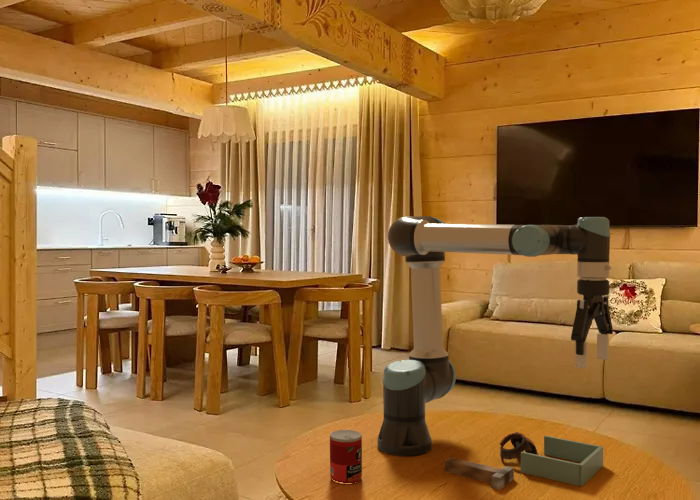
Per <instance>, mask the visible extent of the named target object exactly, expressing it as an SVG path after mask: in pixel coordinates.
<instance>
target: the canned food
mask: <svg viewBox="0 0 700 500" xmlns="http://www.w3.org/2000/svg"><path fill="white" fill-rule="evenodd" d="M362 439H363V435H362V433H361V432H359V431H358V430H357V431H356V430H353V429H340V430H334V431H332V432H330V434H329V476H330V478H332V479H333V480H335V481H338V482H343V483H355V482H357V483H359V482H360V481H361V480H362V476H363V440H362ZM332 479H331V480H332ZM358 481H359V482H358ZM355 484H356V483H355Z"/></svg>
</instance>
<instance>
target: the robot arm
mask: <svg viewBox="0 0 700 500" xmlns="http://www.w3.org/2000/svg"><path fill="white" fill-rule="evenodd" d="M387 240H388V241H387V242H388V244H389V247H390V248H391V249H392V251H393V252H394V253H396V254H397V255H399V256H402V257H405V258H404V259H405V264H406V265H408V266H409V268H410V278H411V280H410V281H411V307H412V310H411V311H412V331H413V334H412V335H413V349H412V350H411V351H410V352H409V354H408V359H402V360H397V361H391V362H390V363H389V364H387V365H386V366H385V368H384V369H383V376H382V384H383V385H382V386H383V387H382V389H383V391H382V392H383V395H382V397H383V405H382V406H383V420H382V423H381V427H380V430H379V432H378V435H377V436H378V437H377V442H376V443H377V449H378V450H379V451H381V452H382V453H385V454H389V455H393V456H403V457H404V456H406V457H410V456H418V455H423V454H426V453H428V452H430V451H431V450H432V445H433V444H432V437H431V434H430V430H429V428H428V424H427V421H426V404H427V403H430V402H431V401H434V400H437V399H441V398H443V397H445V396H446V395H448V394H449V393H450V392H451V391H452V390H453V388H454V387H455V383H456V380H457V373H456V369H455V366H454V365H453V364H452V363H451V361H450V360H449V352H447V351H446V350H445V348H444V343H443V342H444V340H443V338H444V337H443V315H442V313H443V312H442V310H443V309H442V290H441V289H442V288H441V287H442V286H441V283H442V282H441V267H442V266H443V264H444V263H445V262H446V257H445V256H446V255H445V254H446V253H456V254H457V253H458V254H459V253H460V254H461V253H462V254H463V253H464V254H465V253H466V254H487V255H507V256H508V255H510V256H513V255H514V256H522V257H523V256H524V257H528V258H529V257H532V258H533V257H539V256H549V255H577V264H576V267H577V268H576V277H577V278H579V279H577V281H576V283H577V285H576V291H577V292H576V293H577V294H578V295H580V296H583V299H577V300H576V310H575V315H574V320H573V325H572V330H571V335H570V340H571V341H573V342H575V345H574V346H575V348H574V349H575V350H574V351H575V352H574V353H575V354H574V355H575V356H574V360H575V361H574V364H575V365H574V367H575V368H578V369H585V370H587V369H588V341H587V337H588V334H589V331H590V328H591V325H592V322H593V320H594V322H595V325H596V327H597V331H598V333H597V334H596V336H597V337H596V359H597V360H603V361H604V360H605V361H609V359H610V358H609V357H610V356H609V354H610V352H609V351H610V350H609V345H610V344H609V343H610V342H609V340H610V339H609V338H610V335H613V333H614V330H613V323H612V319H611V318H612V316H611V312H610V306H609V296H608V295H609V294H610V281H609V279H608V278H610V270H612V266H611V265H610V252H611V251H610V250H611V247H610V246H611V244H610V243H611V232H610V219H608V218H607V217H605V216H584V217H579V218H577V223H576V224H572V225H571V224H570V225H567V224H566V225H565V224H497V223H496V224H495V223H494V224H489V223H488V224H486V223H485V224H484V223H483V224H482V223H478V224H477V223H446V222H444V220H441V219H440V218H437V217H433V216H427V215H425V216H422V215H421V216H418V215H417V216H414V215H413V216H411V215H409V216H407V215H406V216H401V217H399V218H397V219H396V220H395V221H393V222H392V224H391V225H390V227H389V229H388V232H387Z"/></svg>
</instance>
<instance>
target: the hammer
mask: <svg viewBox="0 0 700 500" xmlns="http://www.w3.org/2000/svg"><path fill="white" fill-rule="evenodd" d="M514 471H515V469H514V467H513V466H508V465H505V466H504V467H503V468H499V467H496V466H495V467H494V466H490V465H487V464H483V463H477V462H473V461H469V460H465V459H460V458H455V457H452V456H451V457H448V458H446V459H445V460H444V473H448V474H453V475H457V476H461V477H464V478H469V479H473V480H477V481H481V482H485V483H489V484H491V488H492V489H495V490H498V491H500V490H502V489H503V488H504V487H505V486H507V485H508V484H510V483H511V482H512V481H513V480H514V479H515V477H514V475H515V473H514Z"/></svg>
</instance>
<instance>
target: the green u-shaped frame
mask: <svg viewBox="0 0 700 500" xmlns="http://www.w3.org/2000/svg"><path fill="white" fill-rule="evenodd" d="M548 456H549V457H548ZM553 457H554V458H553ZM558 458H559V459H558ZM562 459H564V460H562ZM603 467H604V446H602V445H597V444H591V443H587V442H586V443H585V442H581V441H576V440H570V439H565V438H561V437H560V438H559V437H555V436H550V435H544V437H543V455H540V454H538V455H536V454H531V453H526V452H525V451H523V452H521V457H520V473H523V474H527V475H532V476H534V477H538V478H543V479H549V480H552V481H553V480H554V481H557V482H560V483H566V484H569V485H570V484H571V485H575V486H578V487H583V486H584V485H586V483H588V481H590V480H591V479H592V478H593V477H594V475H595V474H597V472H598V471H599V470H601V469H602V468H603Z"/></svg>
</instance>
